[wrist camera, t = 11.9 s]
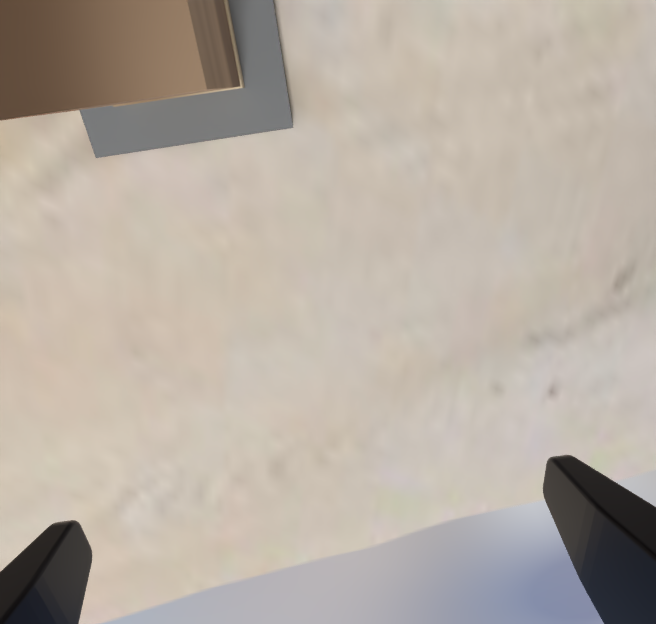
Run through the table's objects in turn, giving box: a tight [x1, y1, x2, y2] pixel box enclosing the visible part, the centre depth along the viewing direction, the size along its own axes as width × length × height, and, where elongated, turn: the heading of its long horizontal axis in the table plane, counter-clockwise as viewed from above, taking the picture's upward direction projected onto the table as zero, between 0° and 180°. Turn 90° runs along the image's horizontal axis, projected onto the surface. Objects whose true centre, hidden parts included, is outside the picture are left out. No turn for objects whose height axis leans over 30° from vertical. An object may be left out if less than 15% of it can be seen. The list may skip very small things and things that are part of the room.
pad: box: [80, 0, 293, 158], centre depth 15 cm, size 7×7×1 cm
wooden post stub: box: [0, 0, 245, 120], centre depth 11 cm, size 4×4×9 cm
